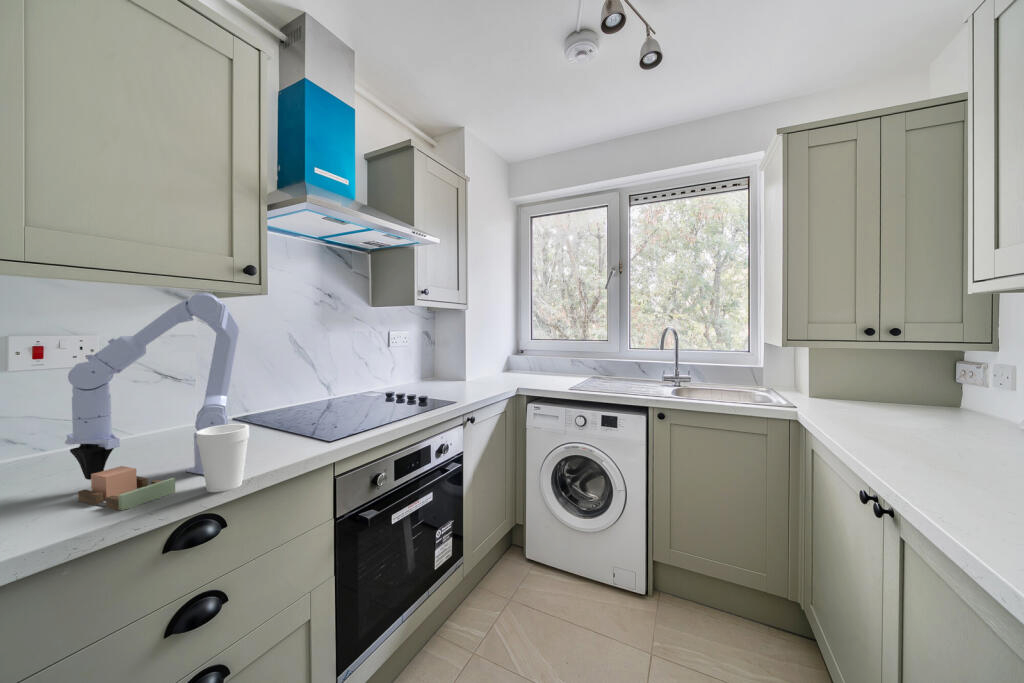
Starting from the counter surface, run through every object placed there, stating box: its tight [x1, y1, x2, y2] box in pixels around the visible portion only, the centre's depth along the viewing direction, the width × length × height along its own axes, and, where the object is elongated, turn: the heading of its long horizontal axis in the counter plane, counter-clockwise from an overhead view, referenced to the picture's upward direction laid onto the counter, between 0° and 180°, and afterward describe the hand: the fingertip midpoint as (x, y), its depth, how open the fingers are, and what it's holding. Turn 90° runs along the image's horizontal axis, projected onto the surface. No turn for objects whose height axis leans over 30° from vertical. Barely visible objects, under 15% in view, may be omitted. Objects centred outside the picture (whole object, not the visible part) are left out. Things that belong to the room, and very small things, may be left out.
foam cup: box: [196, 423, 250, 493], centre depth 85 cm, size 10×9×13 cm
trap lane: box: [77, 475, 176, 511], centre depth 80 cm, size 9×14×3 cm, turn 72°
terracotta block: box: [90, 465, 138, 501], centre depth 81 cm, size 5×5×5 cm
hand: (93, 477), depth 83 cm, fingers closed
